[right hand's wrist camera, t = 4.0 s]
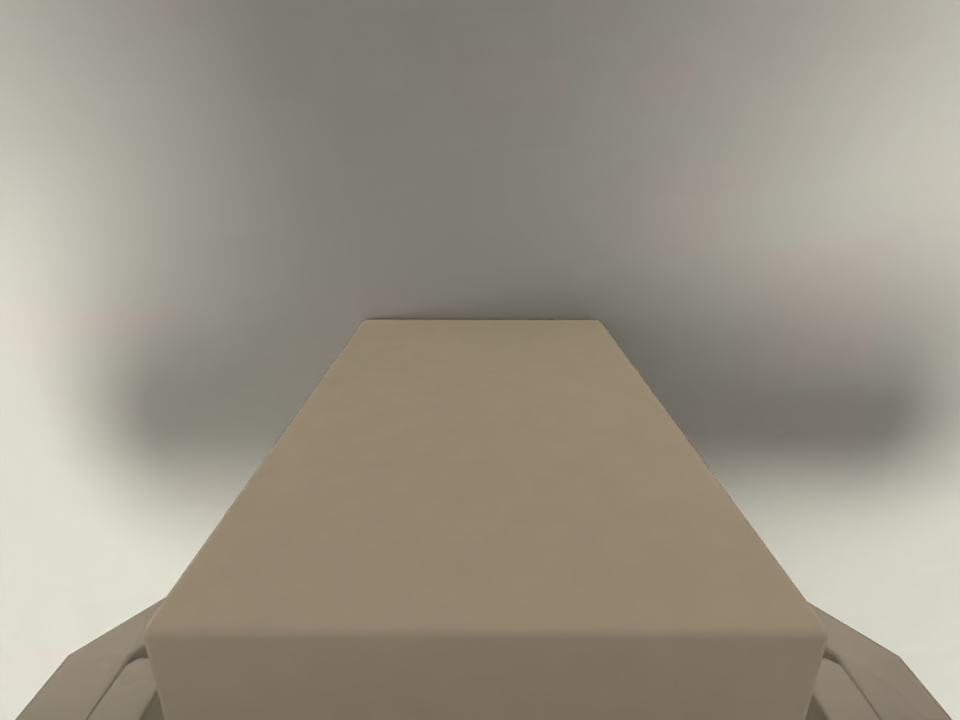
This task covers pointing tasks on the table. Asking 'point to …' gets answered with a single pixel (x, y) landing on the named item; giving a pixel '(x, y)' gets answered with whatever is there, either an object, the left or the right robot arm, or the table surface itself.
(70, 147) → the table surface
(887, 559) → the table surface
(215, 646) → the bar
